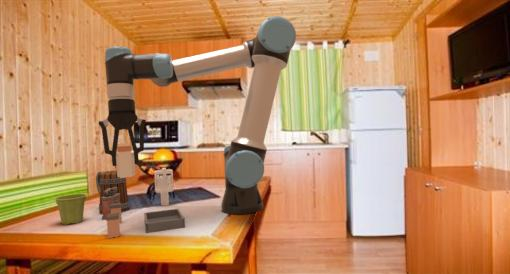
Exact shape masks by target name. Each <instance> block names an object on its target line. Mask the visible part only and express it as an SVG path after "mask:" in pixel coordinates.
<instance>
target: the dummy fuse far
mask: <svg viewBox="0 0 510 274" xmlns="http://www.w3.org/2000/svg"><path fill="white" fill-rule="evenodd" d="M110 209H111V214H114V213H120V217H119V221H120V224H122V223H121V222H123V221H122V219H123V217H122V212H121V203H114V204H111V205H110Z"/></svg>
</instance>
